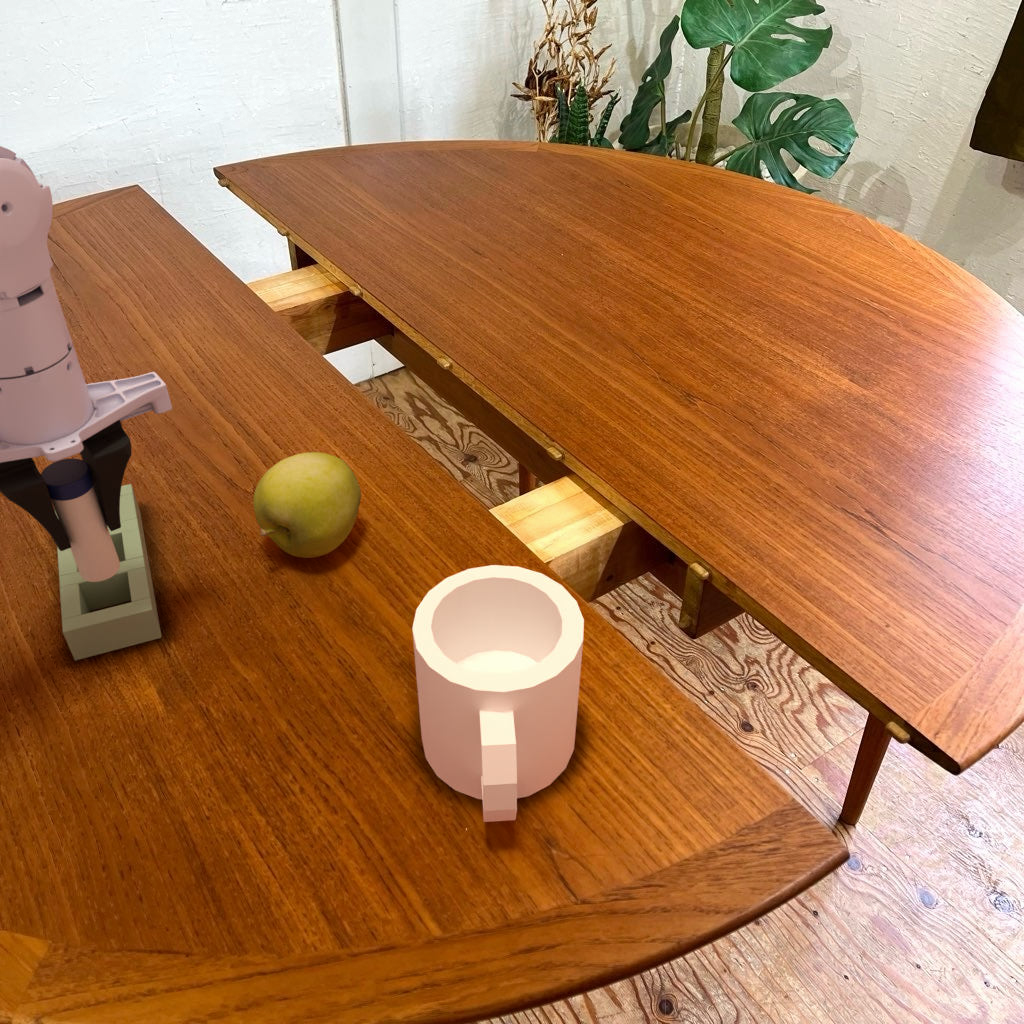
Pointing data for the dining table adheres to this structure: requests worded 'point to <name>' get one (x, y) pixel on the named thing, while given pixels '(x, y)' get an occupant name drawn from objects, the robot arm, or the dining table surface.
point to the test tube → (82, 518)
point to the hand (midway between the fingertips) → (86, 531)
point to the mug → (498, 682)
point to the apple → (307, 503)
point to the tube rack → (111, 593)
